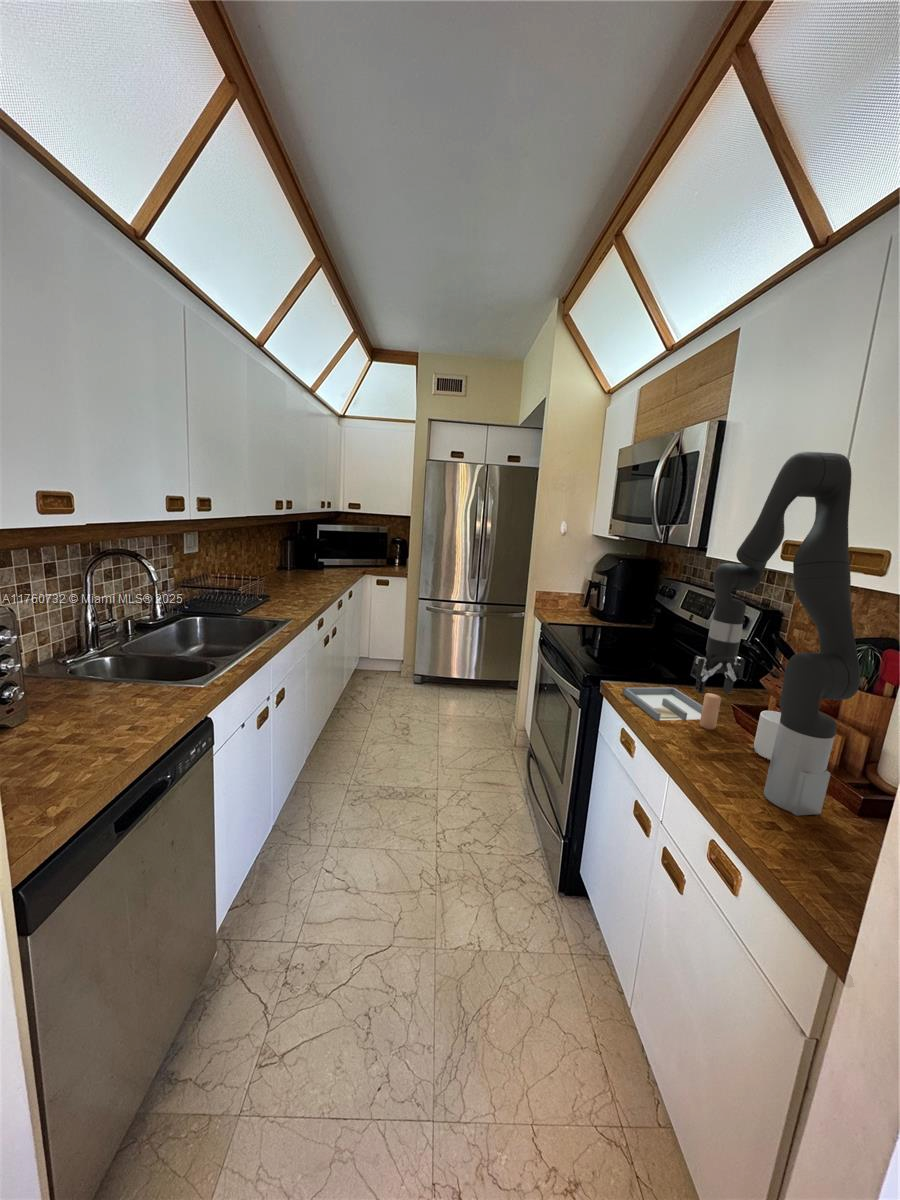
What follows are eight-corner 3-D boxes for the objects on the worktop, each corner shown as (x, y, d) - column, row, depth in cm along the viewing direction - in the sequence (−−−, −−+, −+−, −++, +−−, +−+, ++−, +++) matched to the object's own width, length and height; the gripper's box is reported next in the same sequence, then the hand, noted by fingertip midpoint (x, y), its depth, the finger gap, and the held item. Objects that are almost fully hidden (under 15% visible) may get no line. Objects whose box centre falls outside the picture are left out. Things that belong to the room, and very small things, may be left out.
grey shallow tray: (711, 722, 137) (713, 712, 136) (655, 723, 134) (657, 713, 133) (671, 695, 155) (673, 686, 154) (621, 695, 152) (622, 687, 151)
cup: (759, 759, 117) (767, 721, 115) (744, 737, 129) (751, 702, 127) (797, 765, 115) (806, 728, 113) (778, 742, 127) (786, 708, 124)
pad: (678, 718, 136) (678, 716, 136) (659, 718, 135) (660, 717, 134) (666, 709, 141) (666, 707, 141) (648, 709, 140) (648, 708, 140)
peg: (718, 732, 130) (724, 699, 128) (705, 732, 130) (711, 699, 128) (708, 725, 134) (714, 693, 132) (695, 726, 134) (701, 693, 131)
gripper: (710, 641, 121) (699, 698, 125) (758, 641, 124) (745, 698, 128) (691, 632, 129) (681, 687, 132) (737, 633, 131) (725, 686, 135)
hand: (713, 692), depth 130 cm, fingers open, 8 cm apart
